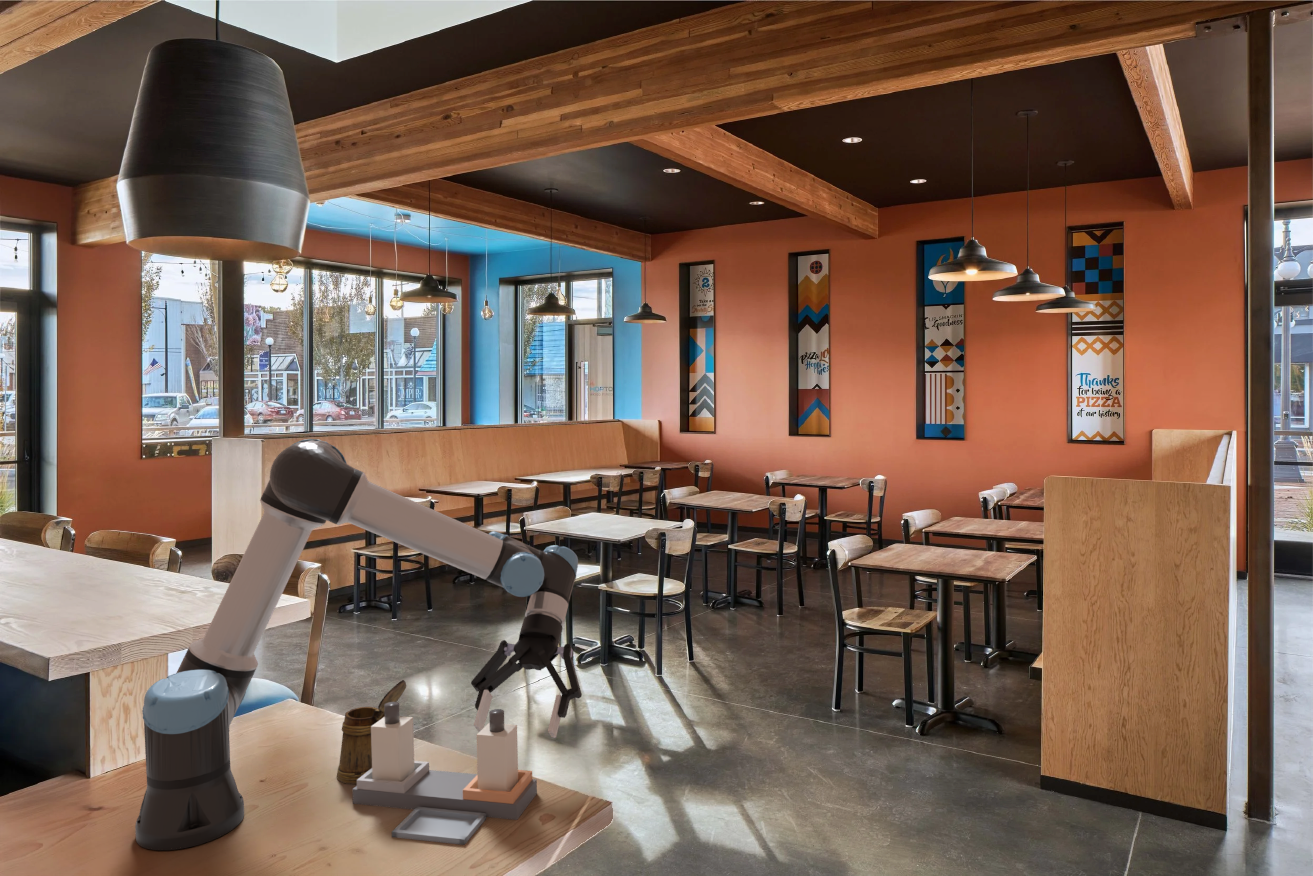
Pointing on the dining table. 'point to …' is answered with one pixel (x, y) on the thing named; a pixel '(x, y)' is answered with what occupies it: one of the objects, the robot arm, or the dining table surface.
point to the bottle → (497, 754)
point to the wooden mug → (361, 737)
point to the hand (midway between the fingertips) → (514, 731)
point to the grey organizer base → (446, 792)
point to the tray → (439, 825)
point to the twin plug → (392, 745)
